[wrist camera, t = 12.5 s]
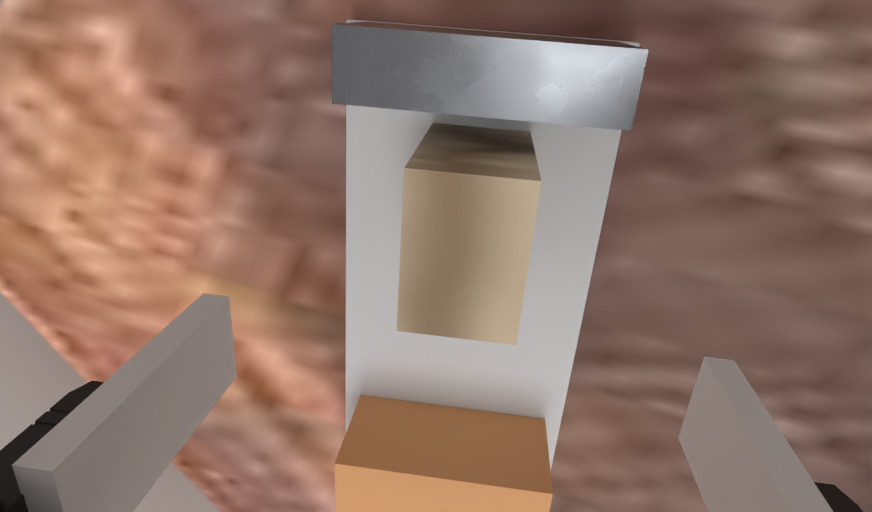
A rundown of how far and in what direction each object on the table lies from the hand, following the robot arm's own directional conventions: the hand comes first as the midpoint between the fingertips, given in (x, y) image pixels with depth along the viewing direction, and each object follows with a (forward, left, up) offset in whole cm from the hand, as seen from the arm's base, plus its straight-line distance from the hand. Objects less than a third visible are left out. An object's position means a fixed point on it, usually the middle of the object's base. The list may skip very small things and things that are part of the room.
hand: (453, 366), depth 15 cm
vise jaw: (0, +17, -16) cm, 23 cm away
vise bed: (0, +7, -17) cm, 18 cm away
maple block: (0, 0, -16) cm, 16 cm away
